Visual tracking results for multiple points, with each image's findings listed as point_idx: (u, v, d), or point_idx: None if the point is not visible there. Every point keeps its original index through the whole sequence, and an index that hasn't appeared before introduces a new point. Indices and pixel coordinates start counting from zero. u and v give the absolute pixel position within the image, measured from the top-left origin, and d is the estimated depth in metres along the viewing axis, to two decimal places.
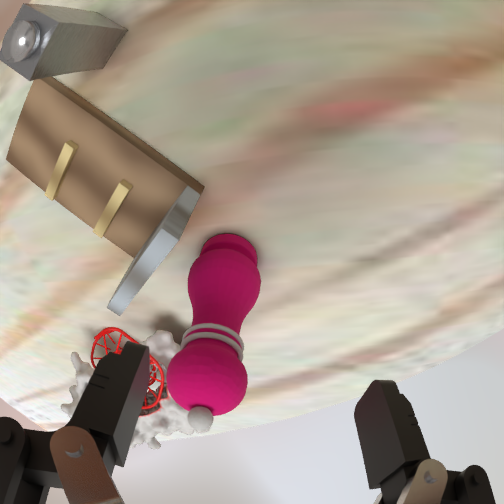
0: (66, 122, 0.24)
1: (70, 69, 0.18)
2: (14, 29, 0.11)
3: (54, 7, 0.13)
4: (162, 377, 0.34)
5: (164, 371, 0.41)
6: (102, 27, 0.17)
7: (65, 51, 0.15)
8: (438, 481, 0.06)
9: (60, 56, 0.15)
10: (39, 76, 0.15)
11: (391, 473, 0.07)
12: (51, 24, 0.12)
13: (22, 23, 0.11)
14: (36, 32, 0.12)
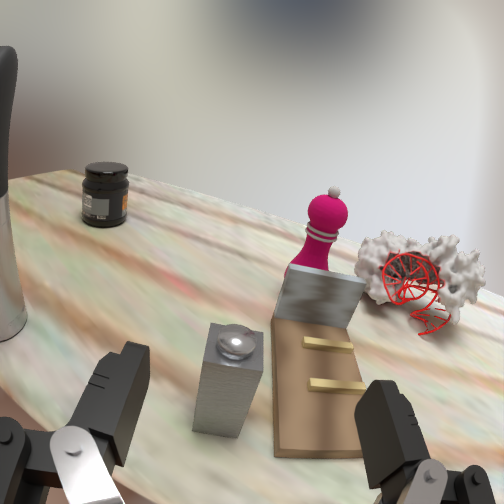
0: (297, 399, 0.30)
1: None
2: (228, 341, 0.23)
3: None
4: (386, 264, 0.50)
5: (399, 287, 0.55)
6: None
7: None
8: (438, 481, 0.06)
9: None
10: None
11: (391, 473, 0.07)
12: (214, 327, 0.25)
13: (220, 335, 0.23)
14: None
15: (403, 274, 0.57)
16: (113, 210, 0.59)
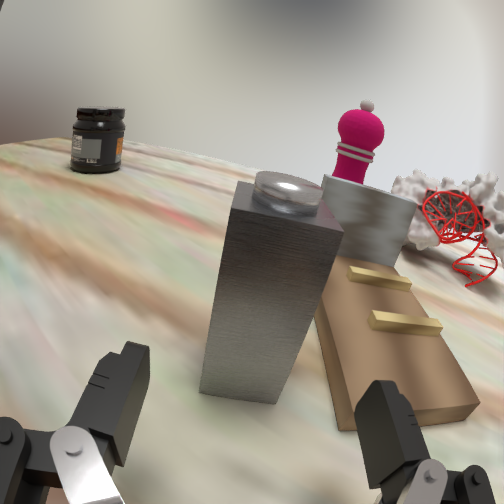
0: (361, 339, 0.20)
1: None
2: (276, 181, 0.13)
3: None
4: (425, 202, 0.40)
5: None
6: None
7: None
8: (438, 481, 0.06)
9: None
10: None
11: (391, 473, 0.07)
12: (244, 184, 0.15)
13: (261, 175, 0.13)
14: None
15: (438, 223, 0.47)
16: (105, 152, 0.49)
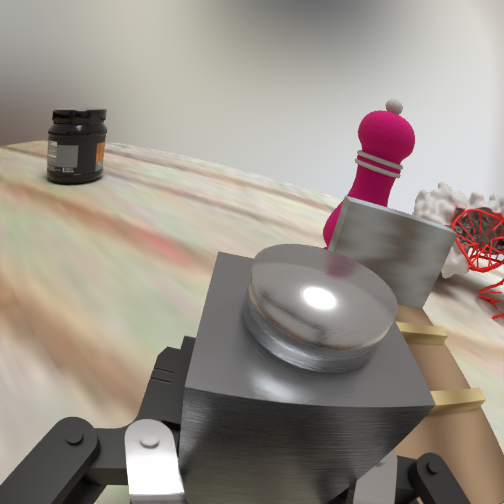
0: None
1: None
2: (300, 295, 0.05)
3: None
4: (454, 222, 0.33)
5: None
6: None
7: None
8: (385, 465, 0.06)
9: None
10: None
11: None
12: (230, 264, 0.08)
13: (263, 271, 0.06)
14: None
15: (463, 242, 0.40)
16: (83, 160, 0.41)
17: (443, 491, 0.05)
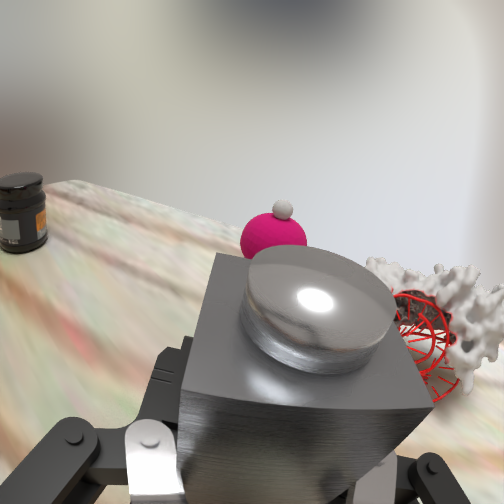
0: None
1: None
2: (298, 296, 0.05)
3: None
4: None
5: None
6: None
7: None
8: (385, 465, 0.06)
9: None
10: None
11: None
12: (227, 265, 0.08)
13: (261, 273, 0.06)
14: None
15: None
16: (25, 232, 0.41)
17: (443, 491, 0.05)
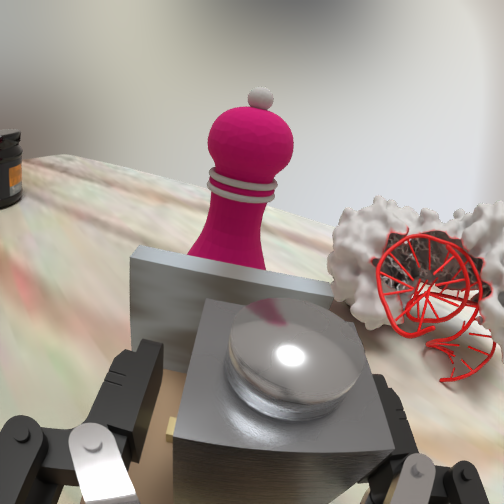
0: None
1: None
2: (272, 358, 0.06)
3: None
4: (383, 255, 0.26)
5: (407, 297, 0.31)
6: None
7: None
8: (425, 476, 0.06)
9: None
10: None
11: (378, 467, 0.07)
12: (215, 312, 0.08)
13: (241, 334, 0.06)
14: None
15: (413, 273, 0.33)
16: None
17: (471, 498, 0.05)
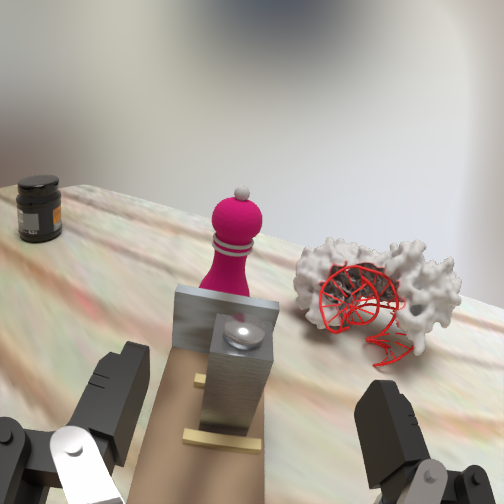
0: (165, 452, 0.22)
1: None
2: (236, 330, 0.22)
3: None
4: (326, 280, 0.42)
5: (352, 306, 0.47)
6: None
7: None
8: (438, 481, 0.06)
9: None
10: None
11: (391, 473, 0.07)
12: (220, 318, 0.24)
13: (227, 324, 0.22)
14: None
15: (359, 289, 0.49)
16: (43, 224, 0.51)
17: (480, 502, 0.04)
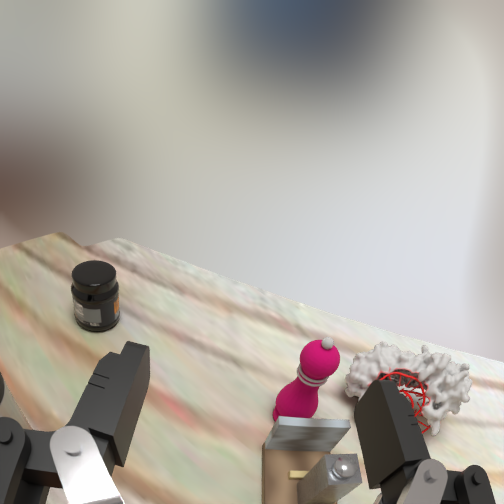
0: None
1: None
2: (342, 470, 0.28)
3: (317, 490, 0.29)
4: None
5: None
6: (308, 472, 0.34)
7: None
8: (438, 481, 0.06)
9: None
10: None
11: (391, 473, 0.07)
12: (327, 458, 0.30)
13: (337, 467, 0.28)
14: (336, 460, 0.30)
15: (393, 377, 0.55)
16: (105, 317, 0.57)
17: (480, 502, 0.04)
